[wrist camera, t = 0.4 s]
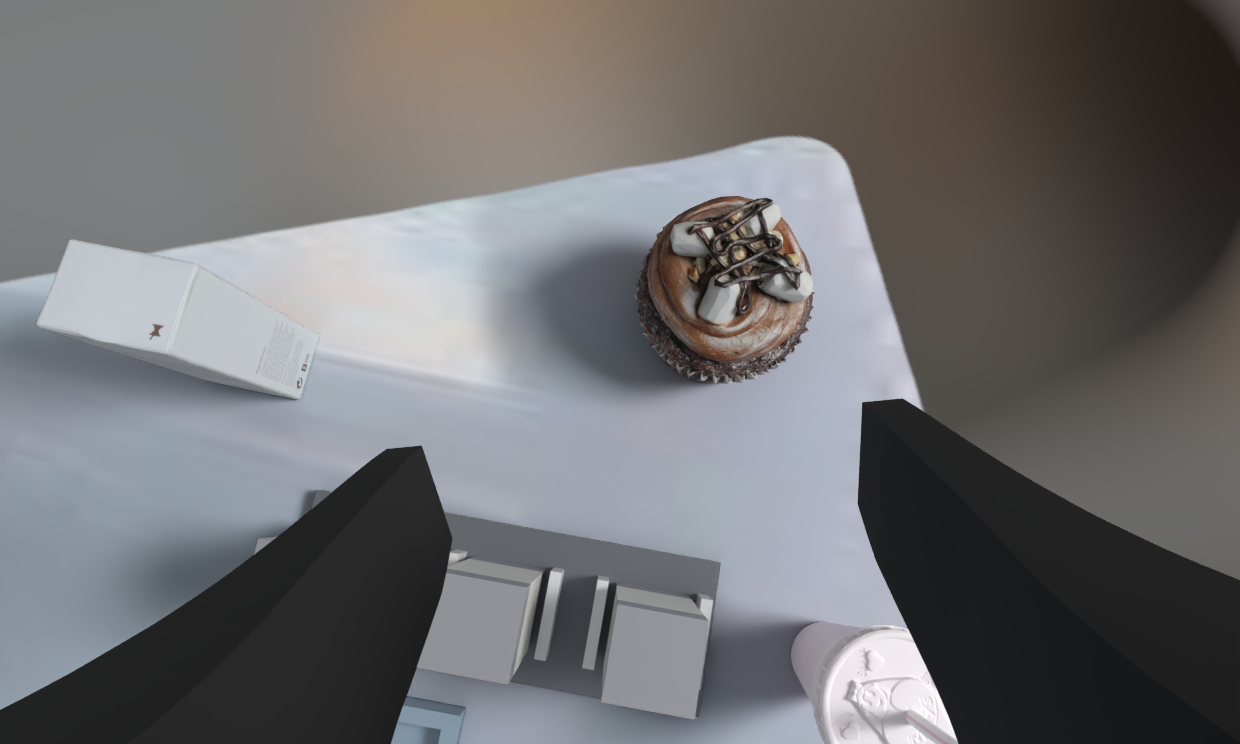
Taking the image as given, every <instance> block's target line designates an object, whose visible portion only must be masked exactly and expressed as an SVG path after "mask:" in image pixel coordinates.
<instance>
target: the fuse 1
mask: <svg viewBox="0 0 1240 744" xmlns="http://www.w3.org/2000/svg"><path fill="white" fill-rule="evenodd" d="M544 574H545V569H540V568H535V567H529V566H524V565H518V564H513V563H507V562H502V561H496V560H491V559H485V558H480V557H472V558H469V559H467V560H464V561H462V562H459V563H456V564H454V565H451V566H449V567H447V572H446V577H445V581H444V586H443V590H442V594H441V598H440V601H439V604H438V607H437V610H436V613H435V616H434V619H433V622H432V624H431V627H430V630H429V633H428V636H427V639H426V642H425V645H424V648H423V651H422V653H421V656H420V659H419V662H418V665H417V668H421V669H426V670H431V671H437V672H442V673H447V674H453V675H458V676H463V677H469V678H474V679H479V680H485V681H490V682H495V683H501V684H506V685H508V684H509V682H510V680H511V679H512V677H513V675H514V674H515V672H516V670H517V668H518V667H519V665H520V663H521V661H522V660H523V658H524V656H525V654H526V653H527V651H528V649H529V648H530V646H531V642H532V637H533V631H534V626H535V621H536V616H537V610H538V605H539V600H540V595H541V589H542V584H543V579H544Z"/></svg>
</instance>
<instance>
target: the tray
mask: <svg viewBox="0 0 1240 744" xmlns="http://www.w3.org/2000/svg"><path fill="white" fill-rule="evenodd" d="M465 709H466V707H461V706H456V705H450V704H445V703H440V702H435V701H429V700H424V699H419V698H413V697H408V696H406V699H405V702H404V705H403V708H402V711H401V713H400V716H399V719H398V722H397V725H396V729H395V732H394V735H393V739H392V742H391V744H458V743H459V738H460V734H461V729H462V724H463V719H464V714H465Z"/></svg>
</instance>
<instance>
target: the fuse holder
mask: <svg viewBox="0 0 1240 744" xmlns="http://www.w3.org/2000/svg"><path fill="white" fill-rule="evenodd" d="M331 493H332V492H329V491H324V490H316V494H315V498H314V502H313V506H312V508H314V507H315V506H316V505H317V504H319V503H320V502H321V501H322V500H323V499H325V498H326V497H327V496H328V495H329V494H331ZM444 514H445V517H446V520H447V523H448V526H449V529H450V532H451V535H452V538H453V539H452V545H451V550H450V556H449V561H448V567H449V566H451V565H454V564H456V563H459V562H462V561H464V560H467V559H469V558H472V557H480V558H485V559H491V560H496V561H502V562H507V563H513V564H518V565H524V566H529V567H535V568H540V569H545V574H544V579H543V584H542V589H541V595H540V600H539V605H538V610H537V616H536V621H535V626H534V631H533V637H532V642H531V646H530V648H529V649H528V651H527V653H526V654H525V656H524V658H523V660H522V661H521V663H520V665H519V667H518V668H517V670H516V672H515V674H514V675H513V677H512V679H511V680H510V682H514V683H520V684H525V685H531V686H536V687H541V688H547V689H552V690H557V691H563V692H568V693H573V694H579V695H584V696H589V697H595V698H600V699H601V695H602V678H603V662H604V654H605V648H606V642H607V636H608V630H609V625H610V619H611V613H612V607H613V601H614V595H615V589H616V583H622V584H628V585H633V586H639V587H644V588H650V589H655V590H660V591H666V592H671V593H677V594H682V595H688V596H689V597H690V598H691V599H692V601H693V602H694V603H695V604H696V606H697V607H698V608H699V609H700V611H701V612H702V613H703V614H704V616H705V617H706V618H707V619H708V621H709V623H708V630H707V637H706V644H705V651H704V658H703V665H702V672H701V679H700V686H699V693H698V700H697V707H696V714H695V716H696V717H699V712H700V705H701V698H702V691H703V684H704V677H705V670H706V663H707V656H708V649H709V642H710V635H711V628H712V621H713V614H714V607H715V599H716V592H717V585H718V578H719V571H720V564H721V563H719V562H715V561H710V560H704V559H699V558H693V557H688V556H682V555H677V554H671V553H666V552H660V551H655V550H649V549H644V548H638V547H633V546H627V545H622V544H616V543H611V542H605V541H600V540H594V539H588V538H583V537H577V536H572V535H566V534H561V533H555V532H550V531H544V530H539V529H533V528H528V527H522V526H517V525H511V524H506V523H500V522H495V521H489V520H484V519H478V518H473V517H467V516H462V515H456V514H451V513H445V512H444Z"/></svg>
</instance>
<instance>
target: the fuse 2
mask: <svg viewBox="0 0 1240 744" xmlns="http://www.w3.org/2000/svg"><path fill="white" fill-rule="evenodd" d="M708 623H709V621H708V619H707V618H706V617H705V616H704V614H703V613H702V612H701V611H700V609H699V608H698V607H697V606H696V604H695V603H694V602H693V601H692V599H691V598H690V597H689V596H688V595H682V594H677V593H671V592H666V591H660V590H655V589H650V588H644V587H639V586H633V585H628V584H622V583H616V589H615V595H614V601H613V607H612V613H611V619H610V625H609V630H608V636H607V642H606V648H605V654H604V662H603V678H602V695H601V702H602V703H608V704H613V705H618V706H624V707H629V708H634V709H640V710H645V711H650V712H656V713H661V714H667V715H672V716H677V717H683V718H688V719H693V720H695V714H696V707H697V700H698V693H699V686H700V679H701V672H702V665H703V658H704V651H705V644H706V637H707V630H708Z"/></svg>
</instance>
